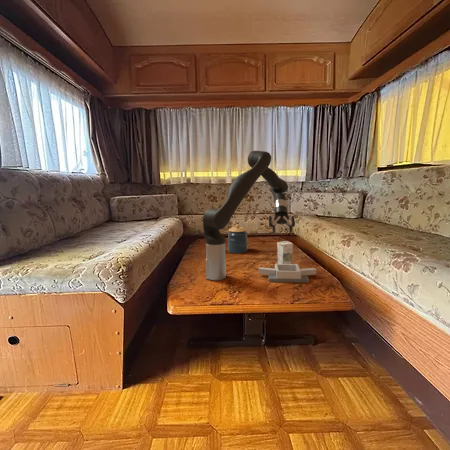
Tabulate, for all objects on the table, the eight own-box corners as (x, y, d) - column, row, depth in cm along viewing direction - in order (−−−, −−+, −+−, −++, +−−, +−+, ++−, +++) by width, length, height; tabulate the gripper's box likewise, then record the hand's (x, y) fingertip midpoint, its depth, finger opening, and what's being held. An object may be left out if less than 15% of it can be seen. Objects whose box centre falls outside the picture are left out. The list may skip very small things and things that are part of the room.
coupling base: (258, 281, 129) (258, 271, 128) (258, 272, 141) (258, 263, 140) (319, 282, 127) (319, 272, 126) (313, 273, 138) (314, 263, 138)
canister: (239, 247, 191) (238, 222, 188) (251, 251, 181) (251, 224, 178) (223, 250, 184) (223, 224, 181) (236, 255, 173) (235, 227, 170)
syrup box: (285, 266, 149) (286, 240, 147) (292, 270, 144) (292, 242, 141) (276, 268, 147) (276, 241, 145) (282, 271, 142) (283, 244, 139)
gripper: (268, 205, 160) (269, 228, 151) (293, 204, 159) (296, 228, 150) (268, 213, 167) (269, 235, 157) (292, 212, 165) (294, 236, 156)
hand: (282, 232), depth 154 cm, fingers open, 8 cm apart
